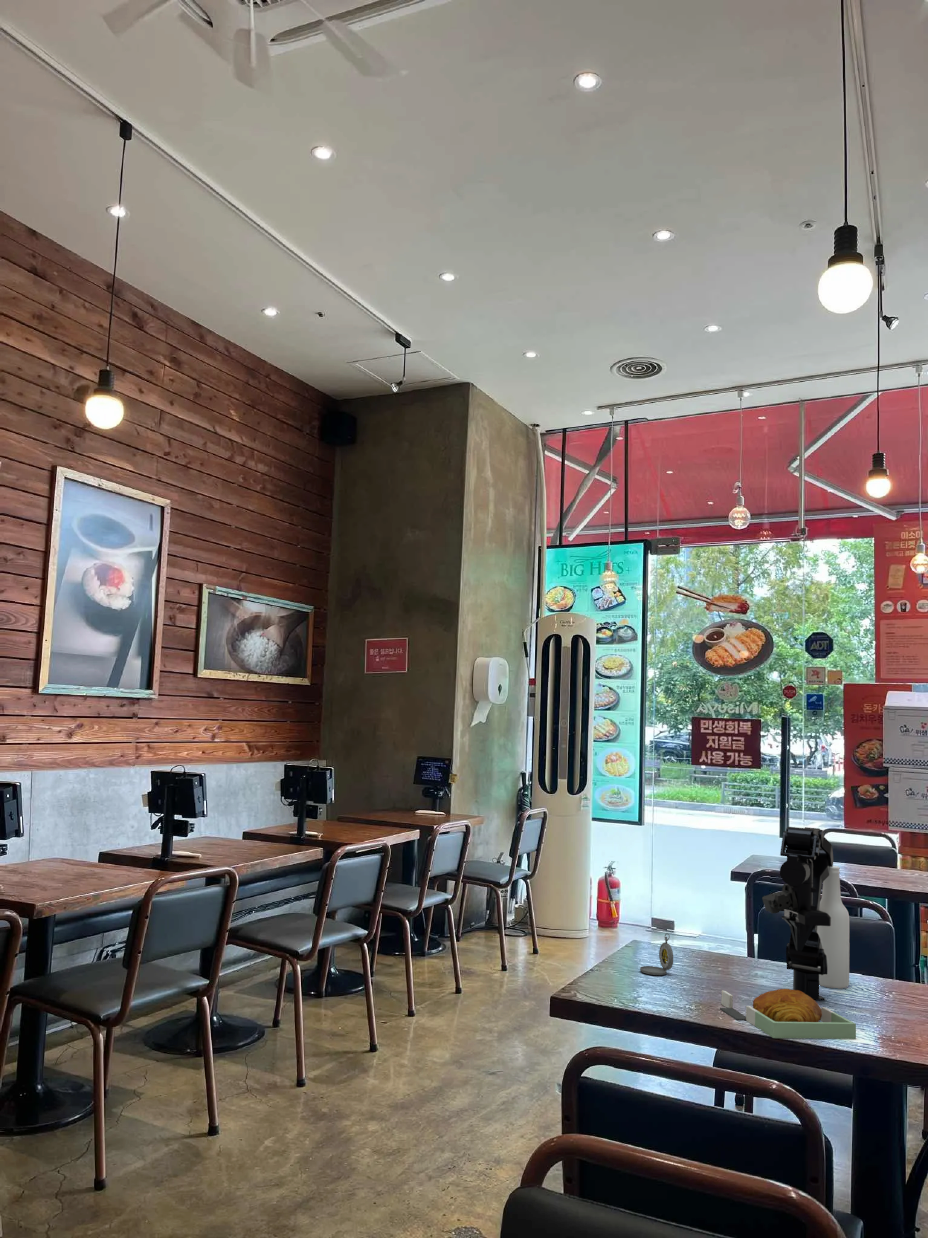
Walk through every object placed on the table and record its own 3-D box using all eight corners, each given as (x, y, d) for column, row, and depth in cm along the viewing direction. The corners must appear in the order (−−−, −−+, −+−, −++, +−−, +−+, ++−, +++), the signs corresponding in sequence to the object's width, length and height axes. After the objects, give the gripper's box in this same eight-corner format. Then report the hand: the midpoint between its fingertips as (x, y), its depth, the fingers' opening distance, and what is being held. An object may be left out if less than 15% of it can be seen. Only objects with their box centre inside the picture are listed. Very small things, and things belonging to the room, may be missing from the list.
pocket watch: (635, 972, 235) (636, 932, 237) (652, 968, 241) (653, 929, 243) (663, 979, 230) (664, 938, 231) (679, 974, 236) (681, 934, 237)
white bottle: (850, 991, 229) (851, 869, 233) (813, 986, 232) (814, 866, 236) (847, 983, 238) (848, 865, 242) (811, 978, 240) (813, 862, 244)
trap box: (712, 1004, 210) (712, 990, 210) (804, 1005, 213) (804, 992, 214) (763, 1038, 186) (763, 1022, 187) (865, 1039, 190) (865, 1024, 190)
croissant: (823, 1031, 201) (824, 993, 203) (818, 1040, 188) (820, 999, 190) (755, 1017, 208) (757, 980, 210) (746, 1024, 194) (749, 985, 196)
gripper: (750, 874, 223) (749, 940, 221) (785, 886, 205) (784, 958, 203) (793, 876, 225) (792, 942, 222) (832, 888, 206) (831, 960, 204)
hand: (798, 950), depth 213 cm, fingers closed
